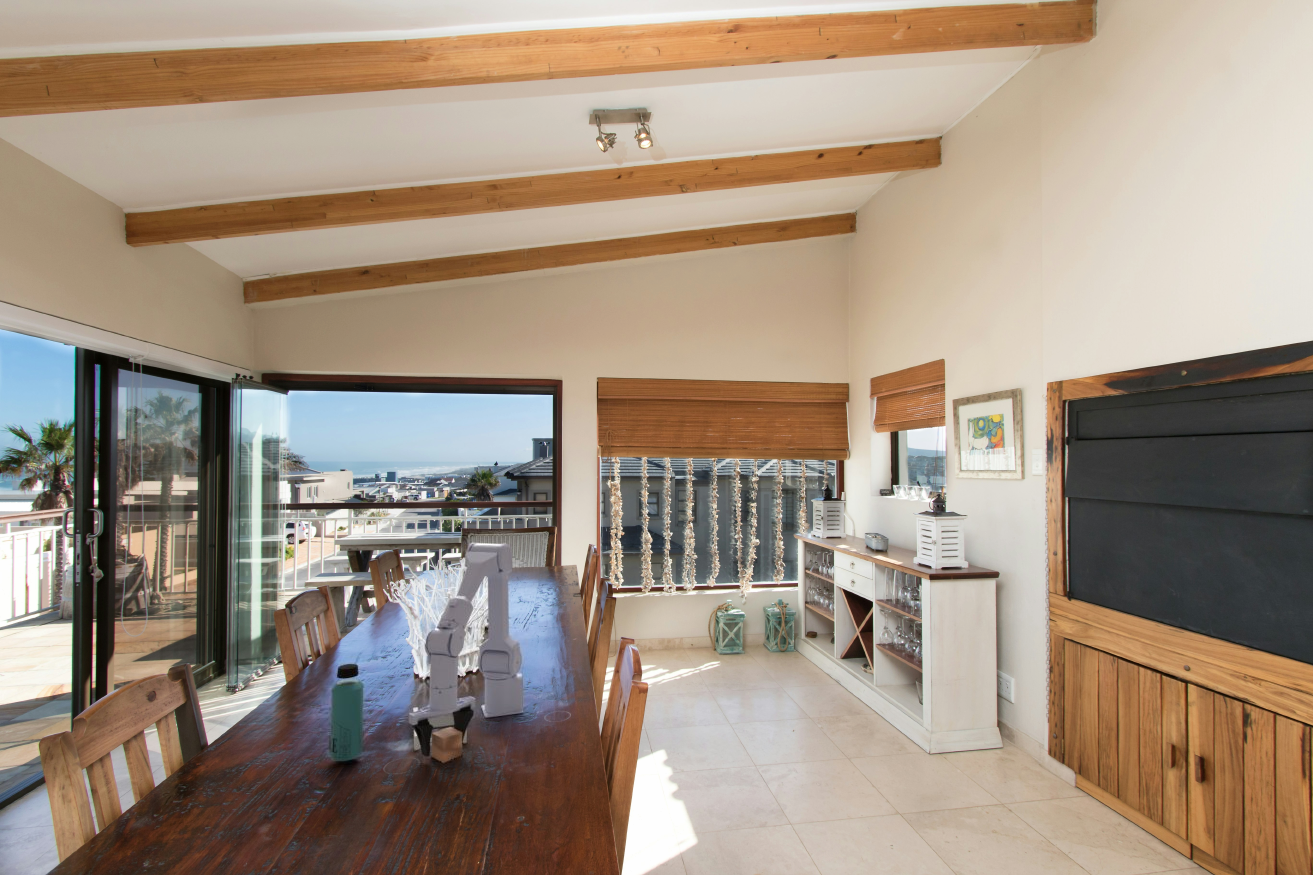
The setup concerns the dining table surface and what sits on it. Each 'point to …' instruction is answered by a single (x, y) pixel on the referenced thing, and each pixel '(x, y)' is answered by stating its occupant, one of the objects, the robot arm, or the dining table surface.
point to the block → (446, 744)
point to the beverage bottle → (346, 715)
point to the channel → (437, 723)
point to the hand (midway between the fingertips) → (442, 749)
